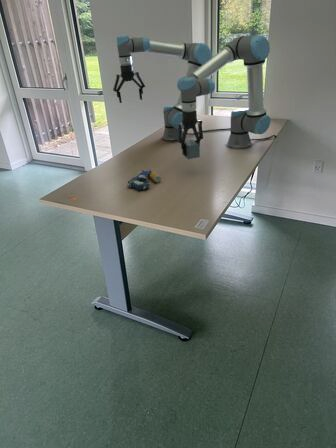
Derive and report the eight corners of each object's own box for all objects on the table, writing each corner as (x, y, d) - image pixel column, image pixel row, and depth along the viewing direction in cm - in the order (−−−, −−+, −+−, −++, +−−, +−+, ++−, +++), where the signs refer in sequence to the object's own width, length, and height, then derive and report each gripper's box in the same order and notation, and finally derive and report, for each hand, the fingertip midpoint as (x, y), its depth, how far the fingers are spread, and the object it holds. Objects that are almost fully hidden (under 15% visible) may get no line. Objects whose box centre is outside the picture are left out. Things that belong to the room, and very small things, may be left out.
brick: (188, 159, 180) (187, 146, 176) (182, 154, 187) (181, 141, 183) (199, 157, 181) (199, 143, 178) (193, 152, 189) (192, 139, 185)
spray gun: (166, 176, 187) (143, 174, 193) (165, 169, 185) (142, 167, 191) (148, 193, 172) (124, 189, 178) (147, 185, 170) (123, 182, 176)
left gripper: (107, 67, 197) (113, 104, 208) (147, 62, 203) (151, 99, 214) (104, 66, 203) (110, 102, 214) (144, 61, 209) (147, 97, 220)
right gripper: (173, 114, 166) (176, 158, 178) (209, 109, 171) (210, 152, 183) (168, 111, 172) (171, 154, 184) (203, 106, 177) (204, 148, 189)
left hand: (130, 101), depth 214 cm, fingers open, 13 cm apart
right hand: (190, 153), depth 184 cm, fingers closed on brick, 7 cm apart
